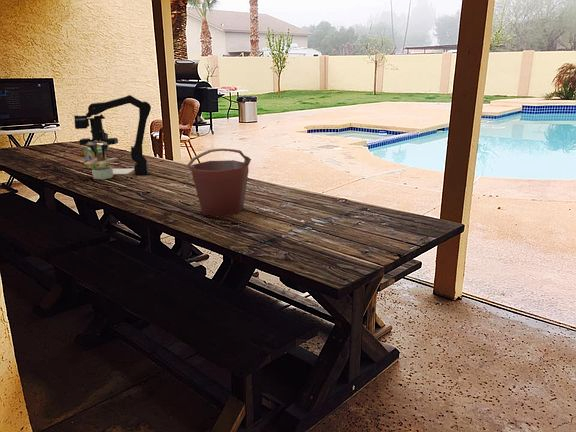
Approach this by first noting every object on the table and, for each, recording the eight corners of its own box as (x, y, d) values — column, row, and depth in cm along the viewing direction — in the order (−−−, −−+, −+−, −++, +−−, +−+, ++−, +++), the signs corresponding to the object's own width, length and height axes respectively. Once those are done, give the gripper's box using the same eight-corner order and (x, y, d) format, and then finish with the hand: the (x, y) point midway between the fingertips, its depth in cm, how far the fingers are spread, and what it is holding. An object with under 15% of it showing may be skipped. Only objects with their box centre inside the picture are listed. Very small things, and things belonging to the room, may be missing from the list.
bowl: (115, 175, 265) (114, 166, 263) (109, 179, 255) (107, 170, 254) (97, 175, 265) (96, 166, 263) (90, 179, 255) (89, 170, 254)
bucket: (253, 203, 205) (251, 144, 198) (251, 218, 184) (248, 153, 177) (195, 204, 204) (191, 145, 197) (187, 220, 183) (181, 154, 176)
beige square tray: (117, 159, 264) (116, 150, 262) (109, 164, 251) (107, 154, 250) (94, 159, 264) (93, 151, 262) (84, 164, 251) (82, 155, 250)
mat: (136, 169, 281) (136, 168, 281) (127, 174, 267) (127, 173, 267) (110, 169, 282) (110, 168, 281) (100, 174, 267) (100, 174, 267)
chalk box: (94, 169, 282) (90, 144, 277) (85, 168, 287) (82, 143, 283) (108, 167, 289) (105, 142, 284) (99, 165, 294) (96, 141, 290)
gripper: (119, 125, 260) (123, 154, 264) (85, 126, 260) (89, 155, 265) (112, 128, 249) (116, 158, 254) (76, 129, 249) (81, 159, 254)
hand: (100, 157), depth 257 cm, fingers closed on beige square tray, 3 cm apart
